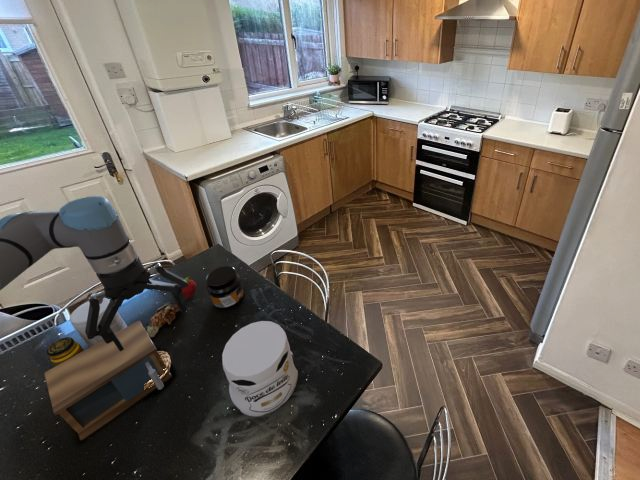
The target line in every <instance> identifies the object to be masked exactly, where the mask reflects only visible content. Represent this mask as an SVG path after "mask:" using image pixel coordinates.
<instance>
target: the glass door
mask: <svg viewBox="0 0 640 480" xmlns="http://www.w3.org/2000/svg"><path fill="white" fill-rule="evenodd" d="M163 373H165V372H164V370H163V368H162V367H161V365H160V363H159V362H158V360H157V358H156V356H155V355H154V353H153V354H152V355H150V356H149V357H147V358H145V359H144V360H142V361H141V362H139V363H138V364H136V365H134V366H133V367H131V368H130V369H128V370H126V371H125V372H123V373H122V374H120V375H119V376H117V377H115V378H114V379H112V380H111V382H112V383H113V384H114V386H115V387H116V388H117V390H118V391H119V392H120V394H121V395H122V396H123V398H124V399H125V400H126V402H127V401H129V400H130V399H132V398H133V397H135V396H136V395H137V394H139V393H140V392H142V391H143V390H144V384H145V383H147V382H148V381H149V380H151V379H152V380H153V382H154V383H155V385H156V387H157V388H156V389H157V390H159V391H160V390H162V389H163V388H165V385H164V384H165V383H162V381H161V379H160V378H159V376H158V375H160V374H163ZM165 375H166V374H165Z"/></svg>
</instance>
